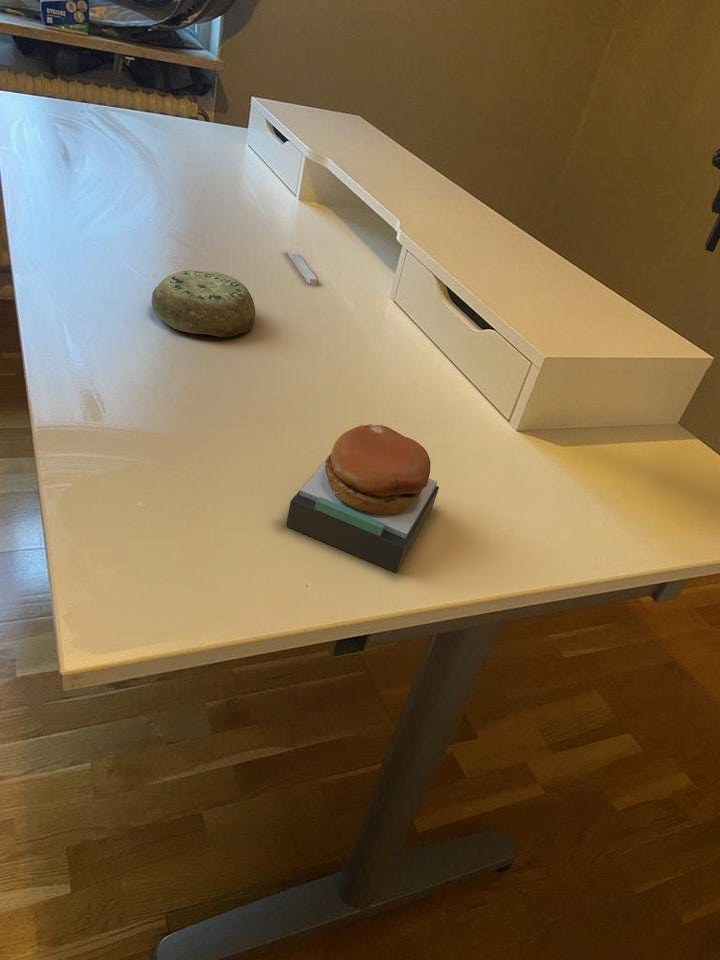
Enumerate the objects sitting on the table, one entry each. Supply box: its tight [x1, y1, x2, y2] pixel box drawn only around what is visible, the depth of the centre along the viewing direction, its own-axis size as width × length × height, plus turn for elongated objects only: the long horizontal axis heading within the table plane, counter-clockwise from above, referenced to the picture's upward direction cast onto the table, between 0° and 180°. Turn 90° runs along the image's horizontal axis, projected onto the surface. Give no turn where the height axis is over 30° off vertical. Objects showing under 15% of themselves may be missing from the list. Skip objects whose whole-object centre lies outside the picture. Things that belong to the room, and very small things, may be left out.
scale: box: [285, 461, 440, 574], centre depth 70 cm, size 11×11×4 cm
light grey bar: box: [287, 249, 318, 286], centre depth 122 cm, size 12×1×1 cm, turn 20°
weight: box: [151, 269, 256, 338], centre depth 98 cm, size 14×13×5 cm
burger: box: [324, 423, 432, 515], centre depth 68 cm, size 10×9×5 cm
